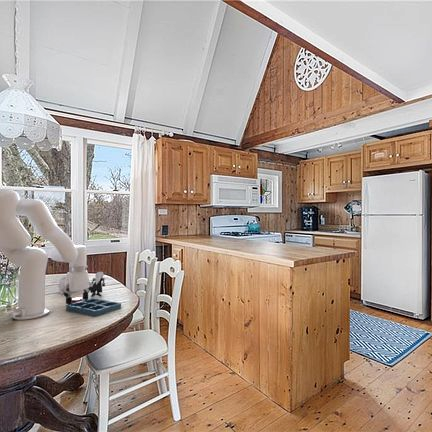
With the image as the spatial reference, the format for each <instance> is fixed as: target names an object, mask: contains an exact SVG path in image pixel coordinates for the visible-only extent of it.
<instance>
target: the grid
mask: <svg viewBox="0 0 432 432" xmlns="http://www.w3.org/2000/svg"><path fill="white" fill-rule="evenodd" d="M120 309H122V302H117V301H111V300H107V299H106V300H105V299H100V298H94V297H91V298H88V300H82V301H80V302H76V303H73V304H69V305H67V304H65V311H66V312H70V313H71V312H72V313H77V314H81V315H86V316H90V317H94V318H95V317H98V316H102V315H105V314H108V313H112V312H114V311H117V310H120Z"/></svg>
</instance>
